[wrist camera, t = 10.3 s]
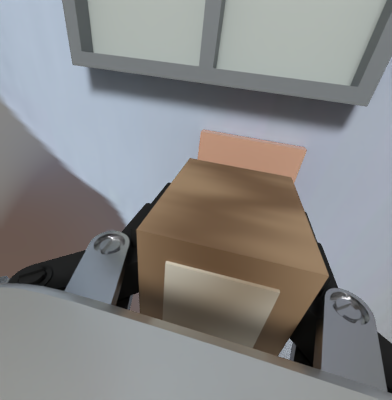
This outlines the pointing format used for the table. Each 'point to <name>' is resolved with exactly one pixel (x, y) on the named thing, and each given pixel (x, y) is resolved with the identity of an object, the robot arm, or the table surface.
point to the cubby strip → (240, 43)
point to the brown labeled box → (229, 256)
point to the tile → (251, 153)
